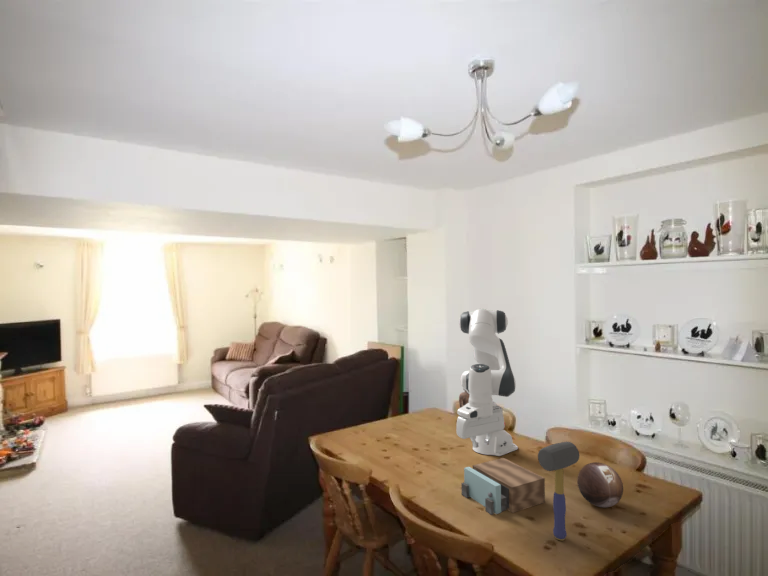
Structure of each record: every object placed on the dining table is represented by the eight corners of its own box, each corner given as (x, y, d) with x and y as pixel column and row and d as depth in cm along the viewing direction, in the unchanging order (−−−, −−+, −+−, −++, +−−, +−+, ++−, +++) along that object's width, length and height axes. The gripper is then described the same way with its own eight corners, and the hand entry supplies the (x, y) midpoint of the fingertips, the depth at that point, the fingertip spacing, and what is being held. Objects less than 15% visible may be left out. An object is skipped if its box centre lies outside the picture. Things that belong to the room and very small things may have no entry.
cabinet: (503, 479, 181) (503, 457, 181) (544, 502, 161) (544, 477, 161) (457, 492, 170) (457, 469, 170) (495, 518, 151) (495, 492, 151)
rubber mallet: (556, 550, 132) (555, 451, 132) (536, 538, 138) (535, 444, 138) (583, 538, 138) (581, 444, 138) (562, 527, 144) (561, 437, 144)
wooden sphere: (603, 519, 149) (602, 475, 149) (568, 500, 163) (567, 460, 163) (633, 509, 155) (632, 467, 155) (597, 492, 169) (596, 453, 169)
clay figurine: (472, 418, 266) (471, 377, 266) (483, 422, 257) (482, 380, 257) (455, 421, 260) (454, 379, 260) (465, 425, 251) (465, 382, 251)
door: (469, 492, 170) (469, 466, 170) (501, 512, 154) (500, 484, 154) (462, 493, 169) (462, 468, 169) (494, 515, 153) (493, 486, 153)
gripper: (496, 402, 169) (497, 438, 169) (453, 410, 160) (454, 448, 160) (507, 406, 164) (508, 443, 164) (464, 415, 154) (464, 453, 155)
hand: (481, 445), depth 162 cm, fingers open, 4 cm apart
